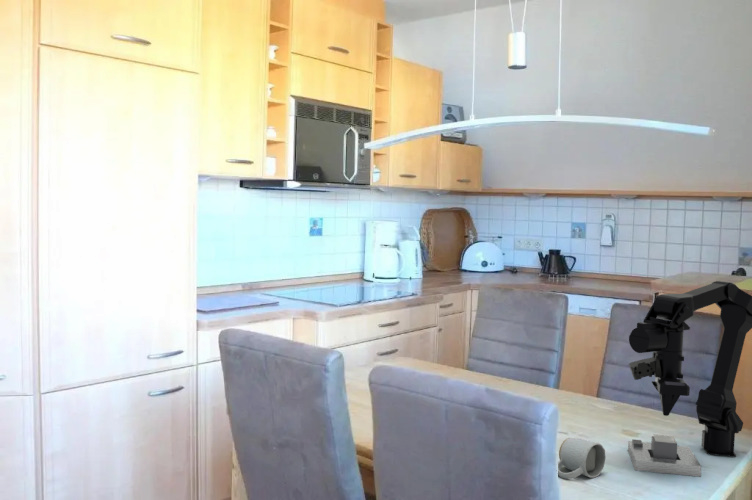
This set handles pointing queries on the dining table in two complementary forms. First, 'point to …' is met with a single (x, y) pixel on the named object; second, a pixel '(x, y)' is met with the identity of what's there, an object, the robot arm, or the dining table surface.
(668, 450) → the plug
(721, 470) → the dining table surface
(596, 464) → the ceramic mug
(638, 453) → the socket plate
